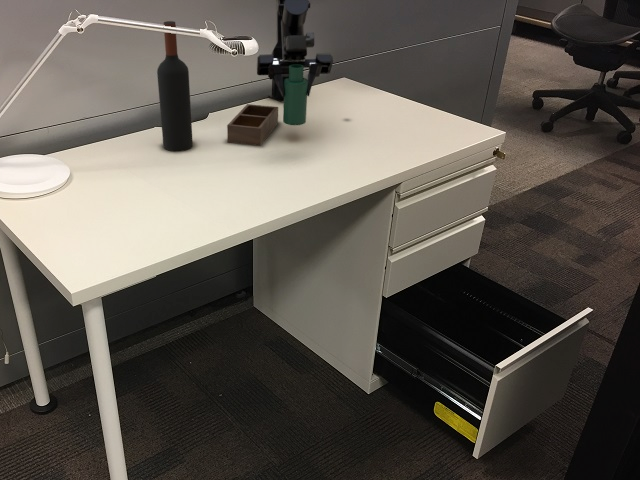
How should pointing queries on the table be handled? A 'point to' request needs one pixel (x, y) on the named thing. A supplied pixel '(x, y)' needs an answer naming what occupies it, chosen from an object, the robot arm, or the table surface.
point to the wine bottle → (174, 97)
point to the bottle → (295, 96)
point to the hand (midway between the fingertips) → (295, 95)
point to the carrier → (252, 124)
